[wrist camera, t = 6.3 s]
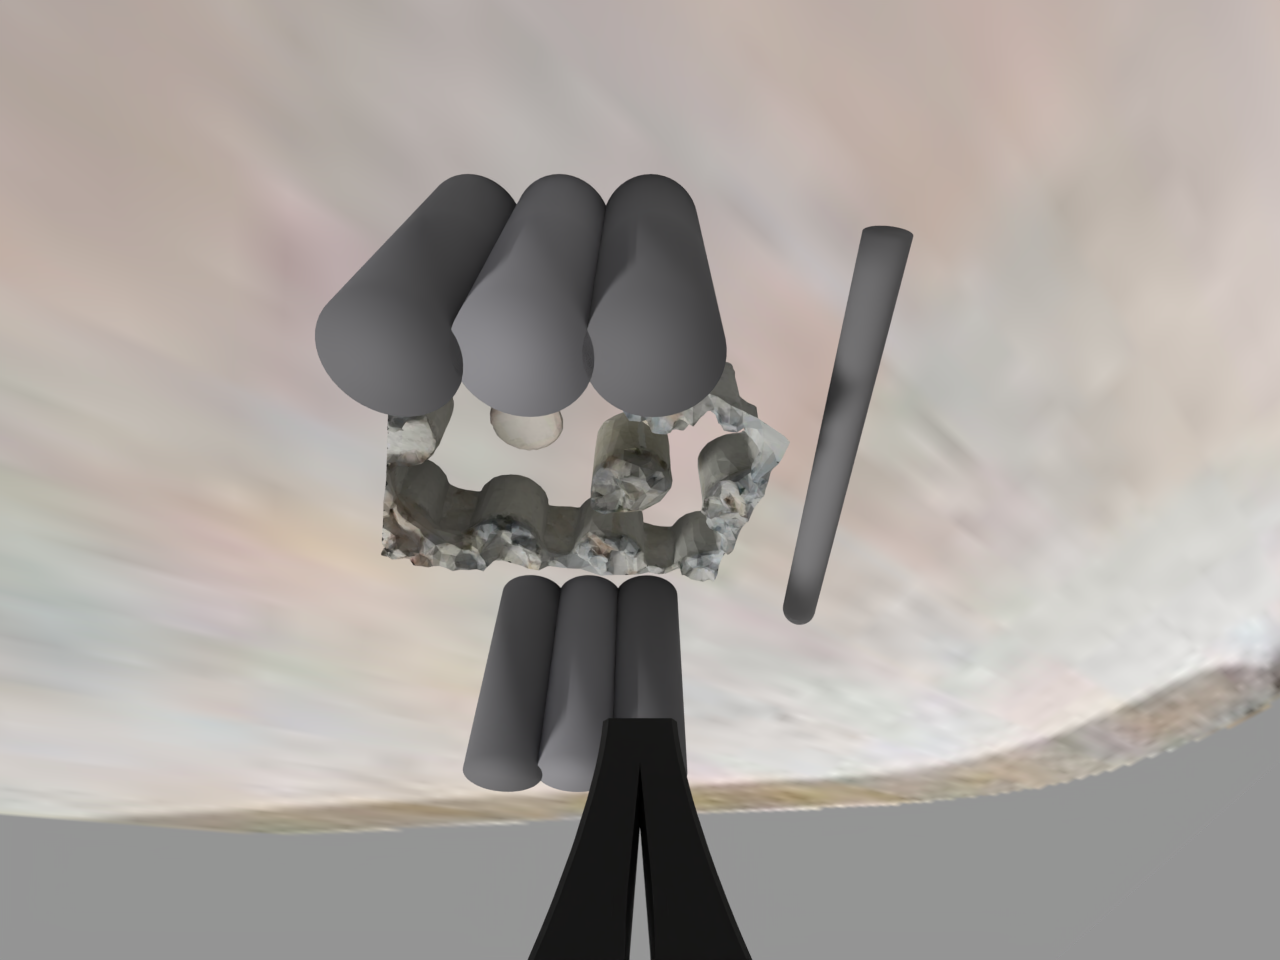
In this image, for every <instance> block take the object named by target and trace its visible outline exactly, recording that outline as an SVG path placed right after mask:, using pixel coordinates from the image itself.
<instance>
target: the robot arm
mask: <svg viewBox="0 0 1280 960" xmlns="http://www.w3.org/2000/svg"><path fill="white" fill-rule="evenodd" d="M639 834H641V846H642V859H643V872H644V884H645V897H646V909H647V922H648V934H649V947H650V960H752V958H751V955H750V953H749V951H748V948H747V946H746V944H745V941H744V939H743V937H742V934H741V932H740V930H739V927H738V925H737V922H736V920H735V917H734V915H733V912H732V910H731V908H730V905H729V902H728V900H727V897H726V895H725V892H724V889H723V887H722V884H721V881H720V879H719V876H718V874H717V871H716V868H715V865H714V862H713V860H712V857H711V854H710V851H709V848H708V845H707V842H706V839H705V836H704V833H703V830H702V827H701V824H700V821H699V817H698V814H697V811H696V808H695V804H694V801H693V797H692V794H691V790H690V786H689V782H688V778H687V775H686V770H685V766H684V762H683V757H682V752H681V747H680V741H679V735H678V727H677V721H675V720H674V719H672V718H608V719H606V720H605V721H603V726H602V734H601V741H600V746H599V752H598V757H597V761H596V766H595V770H594V774H593V778H592V782H591V786H590V790H589V793H588V797H587V801H586V804H585V807H584V810H583V813H582V817H581V820H580V823H579V826H578V829H577V833H576V836H575V839H574V842H573V845H572V848H571V851H570V854H569V856H568V859H567V862H566V865H565V867H564V870H563V873H562V875H561V878H560V881H559V884H558V886H557V889H556V892H555V894H554V897H553V900H552V902H551V905H550V907H549V910H548V912H547V915H546V917H545V920H544V922H543V925H542V927H541V929H540V932H539V934H538V936H537V939H536V941H535V943H534V946H533V948H532V950H531V953H530V955H529V957H528V960H630V947H631V934H632V922H633V909H634V897H635V884H636V872H637V859H638V846H639Z"/></svg>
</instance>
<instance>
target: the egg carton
mask: <svg viewBox="0 0 1280 960" xmlns="http://www.w3.org/2000/svg"><path fill="white" fill-rule="evenodd" d="M453 409H454V400H453V398H452V399H451V400H450V401H449V402H448V403H447V404H446V405H444V406H443V407H441V408H440V409H438V410H436V411H434V412H431V413H428V414H425V415H420V416H412V417H401V416H393V415H388V423H387V431H388V436H387V465H386V486H385V494H384V502H383V529H382V545H383V546H384V547H385V548H383V550H382V552H381V555H382V556H386V557H389V558H390V559H392V560H393V559H402V558H406V559H410V561H411V562H412V564H413V565H415V566H423V567H432V566H441V567H444V568H447V569H449V570H452V571H456V570H475V569H478V570H481V571H484V570H485V569H486V568H487V567H488V566H489V565H490V564H491V563H492V562H493V561H506V562H509V563H513V564H517V565H521V566H523V567H526V568H528V569H532V570H538V571H539V570H541V569H543V568H545V567H547V566H552V567H560V568H570V569H582V570H585V571H588V572H591V573H594V574H597V575H600V576H604V575H638V574H643V573H648V572H651V573H655V574H666V573H668V572H671V571H673V570H675V569H680V571H681V574H682V575H685V576H687V577H688V578H690V579H692V580H696V581H702V582H704V581H706V580H711V581H713V582H714V581H715V579H716V576H717V574H718V569H719V564H720V562H721V560H722V558H723V556H724V554H725V553H726V554H727V555H729V554H730V553H731V552H732V551H733V550H734V547H735V544H736V541H737V538H738V535H739V533H740V530H741V528H742V527H743V526H744V524H745V523H747V522H748V521H749V519H750V517H751V514H752V512H753V510H754V508H755V507H756V505H757V504H758V503H759V501H760V500H761V498H762V497H764V495H765V490H766V487H767V484H768V481H769V477H770V473H771V471H772V469H773V468H775V467H776V466H777V465H778V464H779V462H780V461H781V460H782V458H783V456H784V454H785V452H786V450H787V448H788V446H789V444H790V441H789V440H788V439H787V438H786V437H785V436H784V435H782V434H781V433H779V432H778V431H776V430H775V429H773V428H772V427H770V426H769V425H767V424H766V423H764V422H763V421H761V420H760V419H758V414H757V407H756V406H755V405H752V404H750V403H748V402H746V401H745V400H744V399H742V398H741V397H740V395H739V391H738V386H737V382H736V379H735V371H734V369H733V366H732V364H731V363H728V362H726V363H725V367H724V370H723V373H722V375H721V378H720V380H719V381H718V383H717V385H716V386H715V388H714V389H713V390H712V391H711V392H710V394H709V395H708V396H706V397H705V398H704V399H703V400H702V401H701V402H699V403H698V404H696V405H695V406H693V407H691V408H690V409H688V410H685V411H683V412H680V413H677V414H674V415H669V416H663V417H644V416H638V415H634V414H630V413H627V412H625V411H623V413H620V414H617V415H615V416H613V417H611V418H610V419H608V420H606V421H605V422H604V423H603V424H602V426H601V427H600V429H599V431H598V434H597V440H596V447H595V455H594V465H593V475H592V483H591V497H590V498H589V499H588V500H586V501H585V502H584V503H583V504H582V505H581V507H572V506H552V505H549V503H548V497H547V495H546V492H545V491H544V490H543V489H542V487H541V486H540V485H538V484H537V483H536V482H535V481H533V480H532V479H530V478H528V477H525V476H521V475H513V474H510V475H500V476H497V477H494V478H492V479H491V480H490V481H489V482H487V483H486V484H485V485H484V486H483V488H482V490H481V491H472V490H465V489H461V488H458V487H455V486H453V485H451V484H450V483H449V482H448V479H447V476H446V474H445V473H444V472H443V470H442V469H441V468H440V467H439V466H438V465H436V464H435V463H434V462H432V461H430V460H428V459H429V458H430V457H431V456H432V455H433V454H434V452H435V450H436V449H437V447H438V446H439V445H440V442H441V440H442V437H443V435H444V432H445V430H446V428H447V426H448V423H449V421H450V419H451V416H452V413H453ZM707 411H711V412H713V413H714V414H715V415H716V418H717V421H718V424H720V425H721V426H722V428H723V430H724V431H728V432H736V433H731V434H725V435H722V436H720V437H717V438H715V439H714V440H712V441H710V442H708V443H707V444H706V445H705V446H704V447H703V449H702V450H701V452H700V454H699V456H698V473H699V480H700V487H701V494H702V502H703V503H702V508H701V511H694V512H691V513H687V514H685V515H684V516H682V517H680V518H679V519H678V520H677V521H676V522H675V523H674V524H673V525H672V526H657V525H652V524H649V523H645V522H643V512H642V511H643V510H645V509H647V508H649V507H651V506H653V505H654V504H656V503H658V502H660V501H661V500H662V499H663V498H664V496H665V495H666V494H667V493H668V491H669V490H670V489H671V486H672V481H673V479H672V473H671V461H670V447H669V440H668V435H667V434H668V433H671V431H672V430H675V429H676V430H683V431H684V430H685V429H686V428H687V426H688V425H689V424H690V425H691V426H694V425H695V424H696V423H697V421H698V420H699V419H700V418H701V417H702V416H703V415H704V414H705V413H706V412H707ZM490 423H491V424H492V426H493V429H494V431H495V432H496V434H497V436H498V437H499V438H500V439H501V440H503V441H504V442H505V443H507V444H509V445H511V446H513V447H516V448H518V449H525V450H529V451H530V450H538V449H541V448H545V447H548V446H549V445H551V444H552V443H554V442H555V441H556V440H557V439H558V438H559V436H560V434H561V432H562V430H563V417H562V415H561V412H560V411H558V412H556V413H553V414H549V415H545V416H539V417H522V416H515V415H511V414H507V413H503V412H501V411H498V410H496V409H494V408H492V407H491V410H490ZM743 428H744V431H742V432H739V431H740V430H742V429H743ZM737 432H739V433H737Z"/></svg>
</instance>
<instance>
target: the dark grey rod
mask: <svg viewBox="0 0 1280 960" xmlns="http://www.w3.org/2000/svg"><path fill="white" fill-rule="evenodd" d="M912 240H913V234H912V233H911V232H910V231H908V230H905V229H902V228H898V227H893V226H870V227H866V228H864V229H863V230H862V235H861V239H860V244H859V249H858V253H857V258H856V263H855V268H854V272H853V277H852V282H851V286H850V291H849V296H848V301H847V305H846V310H845V315H844V320H843V324H842V329H841V334H840V338H839V343H838V348H837V353H836V357H835V362H834V367H833V372H832V376H831V381H830V386H829V390H828V395H827V400H826V405H825V409H824V414H823V419H822V424H821V428H820V433H819V438H818V442H817V447H816V452H815V457H814V461H813V466H812V471H811V476H810V480H809V485H808V490H807V494H806V499H805V504H804V509H803V513H802V518H801V523H800V527H799V532H798V537H797V542H796V546H795V551H794V556H793V561H792V565H791V570H790V575H789V579H788V584H787V589H786V594H785V598H784V603H783V613H784V615H785V617H786V619H787V620H788V621H790V622H791V623H793V624H796V625H803V624H806V623H808V622H809V621H811V620H812V618H813V616H814V614H815V610H816V607H817V603H818V599H819V595H820V591H821V588H822V584H823V580H824V576H825V572H826V568H827V565H828V561H829V557H830V553H831V549H832V546H833V542H834V538H835V534H836V530H837V526H838V523H839V519H840V515H841V511H842V507H843V503H844V500H845V496H846V492H847V488H848V484H849V481H850V477H851V473H852V469H853V465H854V461H855V458H856V454H857V450H858V446H859V442H860V439H861V435H862V431H863V427H864V423H865V419H866V416H867V412H868V408H869V404H870V400H871V396H872V393H873V389H874V385H875V381H876V377H877V374H878V370H879V366H880V362H881V358H882V354H883V351H884V347H885V343H886V339H887V335H888V332H889V328H890V324H891V320H892V316H893V312H894V309H895V305H896V301H897V297H898V293H899V289H900V286H901V282H902V278H903V274H904V270H905V267H906V263H907V259H908V255H909V251H910V247H911V244H912Z"/></svg>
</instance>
